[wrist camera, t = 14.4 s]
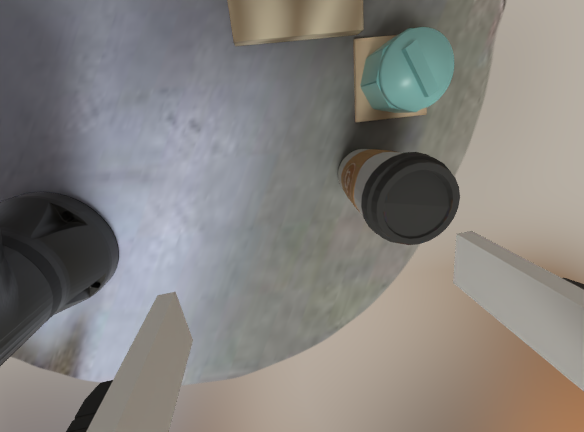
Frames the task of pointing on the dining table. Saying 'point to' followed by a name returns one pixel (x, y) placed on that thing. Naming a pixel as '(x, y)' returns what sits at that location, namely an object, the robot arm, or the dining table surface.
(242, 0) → the post base
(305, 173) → the dining table surface
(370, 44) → the coaster
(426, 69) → the cap
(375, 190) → the coffee cup
